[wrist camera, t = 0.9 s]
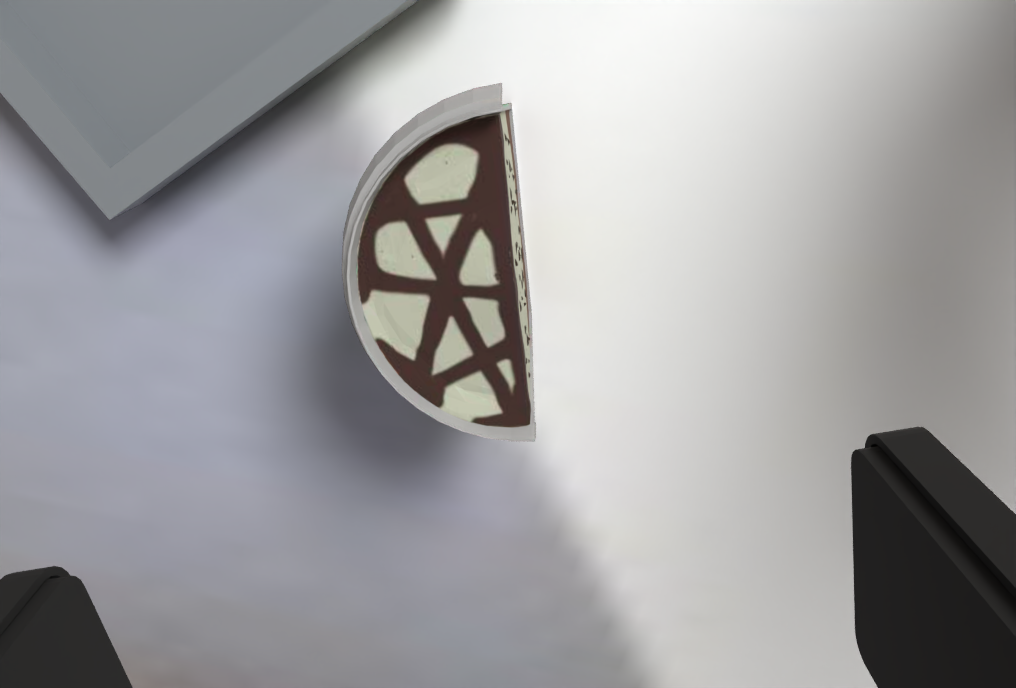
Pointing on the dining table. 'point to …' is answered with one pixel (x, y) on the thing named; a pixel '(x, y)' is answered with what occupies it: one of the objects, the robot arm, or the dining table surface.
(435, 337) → the food container
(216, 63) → the tray
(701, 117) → the dining table surface
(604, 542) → the dining table surface
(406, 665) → the dining table surface
